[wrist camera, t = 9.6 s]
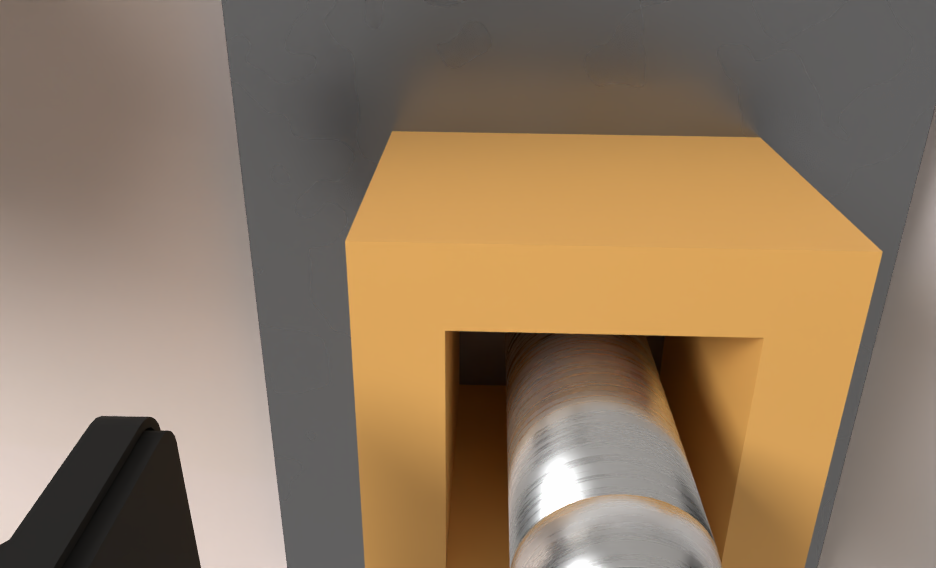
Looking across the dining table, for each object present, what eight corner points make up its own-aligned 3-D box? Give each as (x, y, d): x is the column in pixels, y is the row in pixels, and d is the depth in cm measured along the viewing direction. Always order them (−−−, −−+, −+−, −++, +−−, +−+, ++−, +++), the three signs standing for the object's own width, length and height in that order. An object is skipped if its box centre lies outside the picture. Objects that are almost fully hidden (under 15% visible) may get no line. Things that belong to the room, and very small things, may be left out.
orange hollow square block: (392, 131, 14) (345, 241, 10) (759, 137, 14) (882, 251, 10) (402, 431, 17) (368, 625, 13) (709, 439, 17) (787, 637, 12)
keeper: (220, -175, 13) (-232, -282, 5) (970, -169, 13) (1805, -273, 5) (300, 567, 20) (164, 1037, 12) (790, 581, 20) (1001, 1072, 12)
